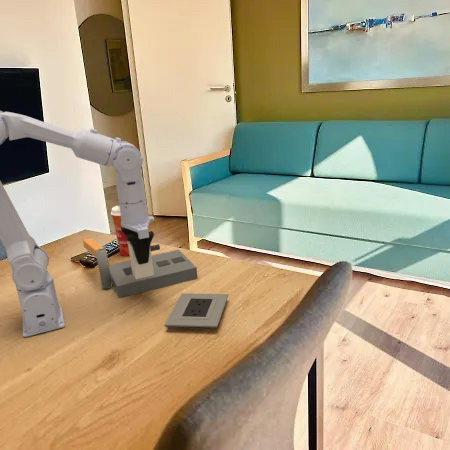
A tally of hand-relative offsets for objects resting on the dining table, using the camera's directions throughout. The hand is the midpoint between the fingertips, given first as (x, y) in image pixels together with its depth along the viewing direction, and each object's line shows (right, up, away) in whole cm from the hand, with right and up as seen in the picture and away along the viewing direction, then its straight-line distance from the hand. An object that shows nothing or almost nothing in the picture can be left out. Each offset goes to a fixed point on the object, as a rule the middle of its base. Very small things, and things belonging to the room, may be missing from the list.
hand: (140, 259), depth 97 cm
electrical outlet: (+13, -12, -5) cm, 18 cm away
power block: (0, -6, +14) cm, 15 cm away
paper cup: (-9, -1, +31) cm, 33 cm away
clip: (-13, -6, +14) cm, 20 cm away
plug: (+1, -3, +2) cm, 4 cm away
